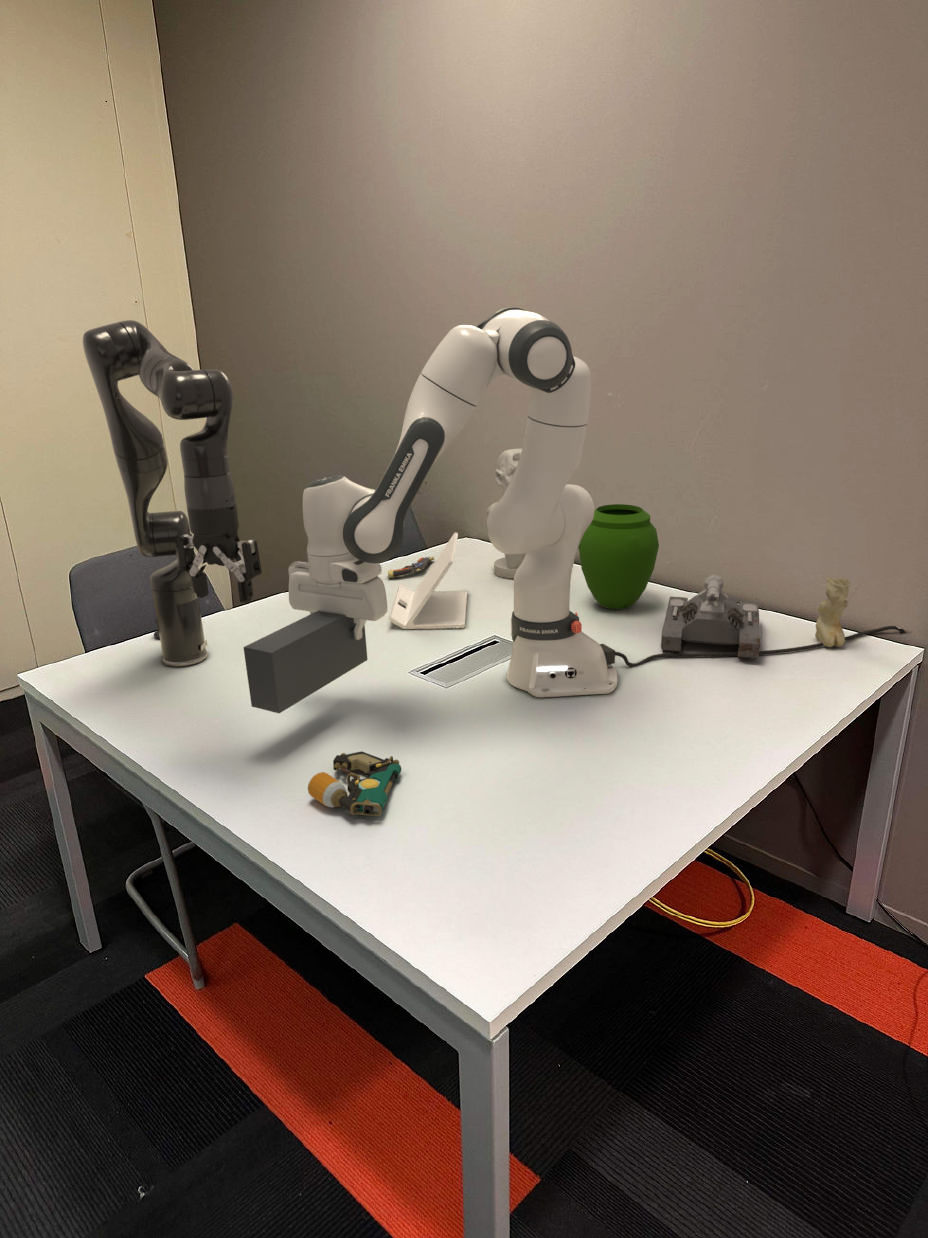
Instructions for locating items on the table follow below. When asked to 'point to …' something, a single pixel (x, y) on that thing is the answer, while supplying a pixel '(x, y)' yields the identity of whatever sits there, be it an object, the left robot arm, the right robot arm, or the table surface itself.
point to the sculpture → (832, 613)
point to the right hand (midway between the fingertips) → (340, 635)
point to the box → (301, 659)
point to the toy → (712, 621)
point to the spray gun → (357, 783)
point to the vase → (618, 554)
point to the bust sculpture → (503, 477)
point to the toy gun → (411, 567)
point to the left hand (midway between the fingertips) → (224, 599)
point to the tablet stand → (431, 599)
